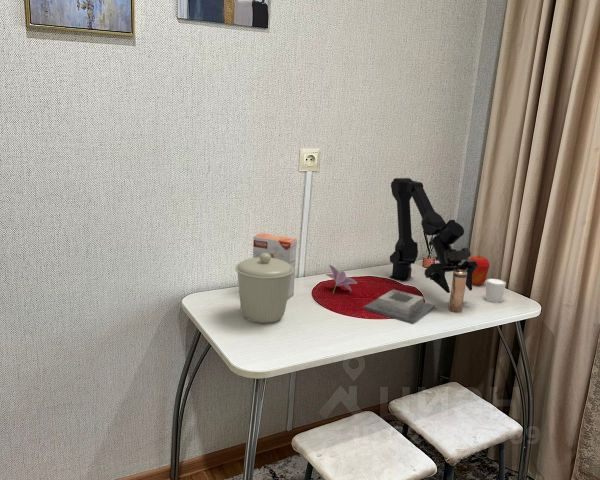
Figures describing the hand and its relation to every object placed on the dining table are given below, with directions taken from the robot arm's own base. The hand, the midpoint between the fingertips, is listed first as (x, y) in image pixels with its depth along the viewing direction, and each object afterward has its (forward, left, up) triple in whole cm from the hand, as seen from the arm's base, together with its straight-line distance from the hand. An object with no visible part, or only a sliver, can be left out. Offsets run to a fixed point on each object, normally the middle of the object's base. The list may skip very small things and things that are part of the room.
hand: (460, 291), depth 194 cm
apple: (-5, +34, -7) cm, 35 cm away
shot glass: (+6, +21, -7) cm, 23 cm away
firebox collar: (-16, -11, -7) cm, 21 cm away
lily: (-40, -11, -8) cm, 42 cm away
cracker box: (-56, -30, -7) cm, 64 cm away
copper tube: (-1, +1, -7) cm, 7 cm away
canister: (-46, -48, -7) cm, 67 cm away
